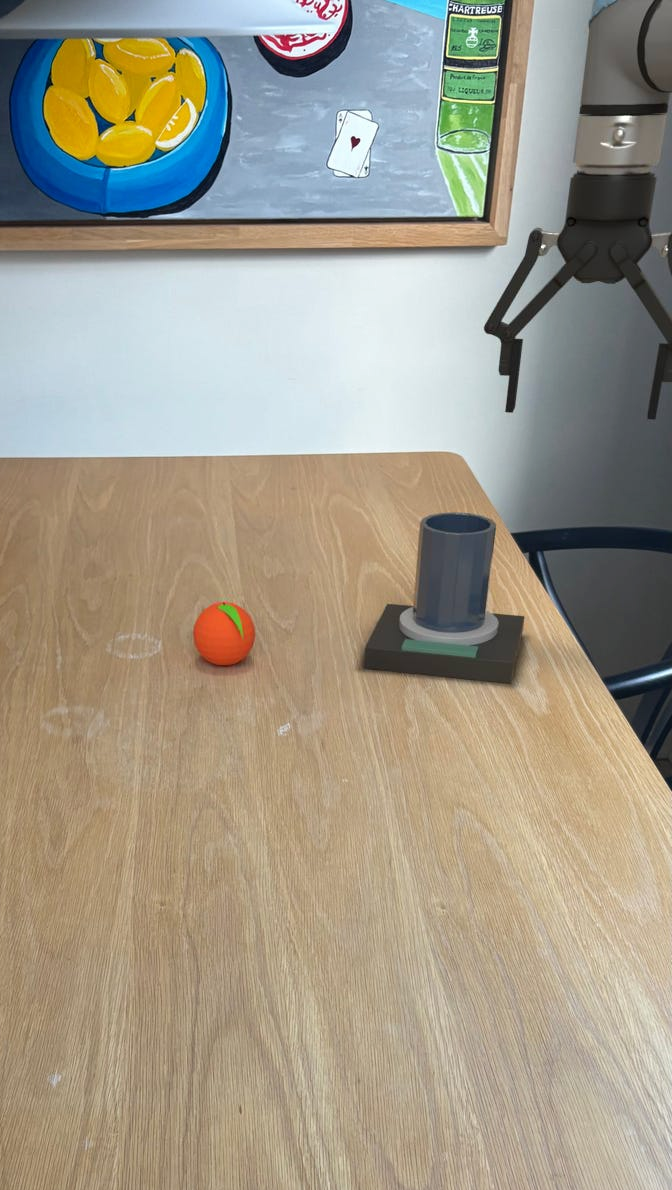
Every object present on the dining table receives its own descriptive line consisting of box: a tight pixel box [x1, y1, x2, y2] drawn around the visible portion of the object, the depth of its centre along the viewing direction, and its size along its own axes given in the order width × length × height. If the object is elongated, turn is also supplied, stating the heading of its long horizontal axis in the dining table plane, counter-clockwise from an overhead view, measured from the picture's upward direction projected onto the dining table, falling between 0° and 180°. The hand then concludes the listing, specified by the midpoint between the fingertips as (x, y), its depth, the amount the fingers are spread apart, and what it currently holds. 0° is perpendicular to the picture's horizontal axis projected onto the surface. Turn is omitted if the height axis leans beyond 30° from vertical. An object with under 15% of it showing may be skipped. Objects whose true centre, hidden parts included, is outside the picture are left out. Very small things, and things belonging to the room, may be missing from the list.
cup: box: [412, 511, 497, 633], centre depth 136 cm, size 8×8×11 cm
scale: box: [363, 603, 525, 684], centre depth 139 cm, size 16×14×4 cm
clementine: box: [192, 601, 256, 666], centre depth 136 cm, size 8×7×7 cm
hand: (579, 413), depth 122 cm, fingers open, 13 cm apart
